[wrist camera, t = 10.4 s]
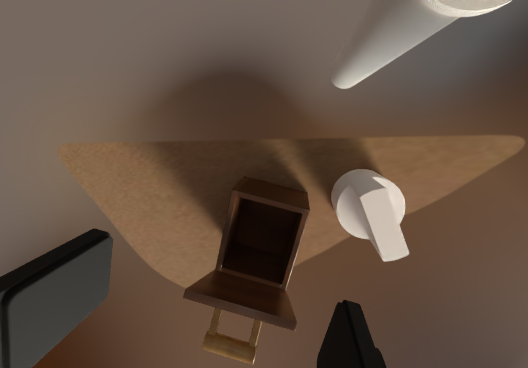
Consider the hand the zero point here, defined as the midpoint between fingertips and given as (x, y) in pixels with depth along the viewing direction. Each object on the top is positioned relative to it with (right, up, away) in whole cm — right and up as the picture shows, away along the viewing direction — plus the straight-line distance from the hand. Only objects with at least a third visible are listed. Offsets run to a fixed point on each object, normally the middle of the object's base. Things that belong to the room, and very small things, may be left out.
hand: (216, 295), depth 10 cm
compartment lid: (0, -8, +20) cm, 21 cm away
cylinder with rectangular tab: (+17, +3, +31) cm, 35 cm away
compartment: (+2, -1, +34) cm, 34 cm away
